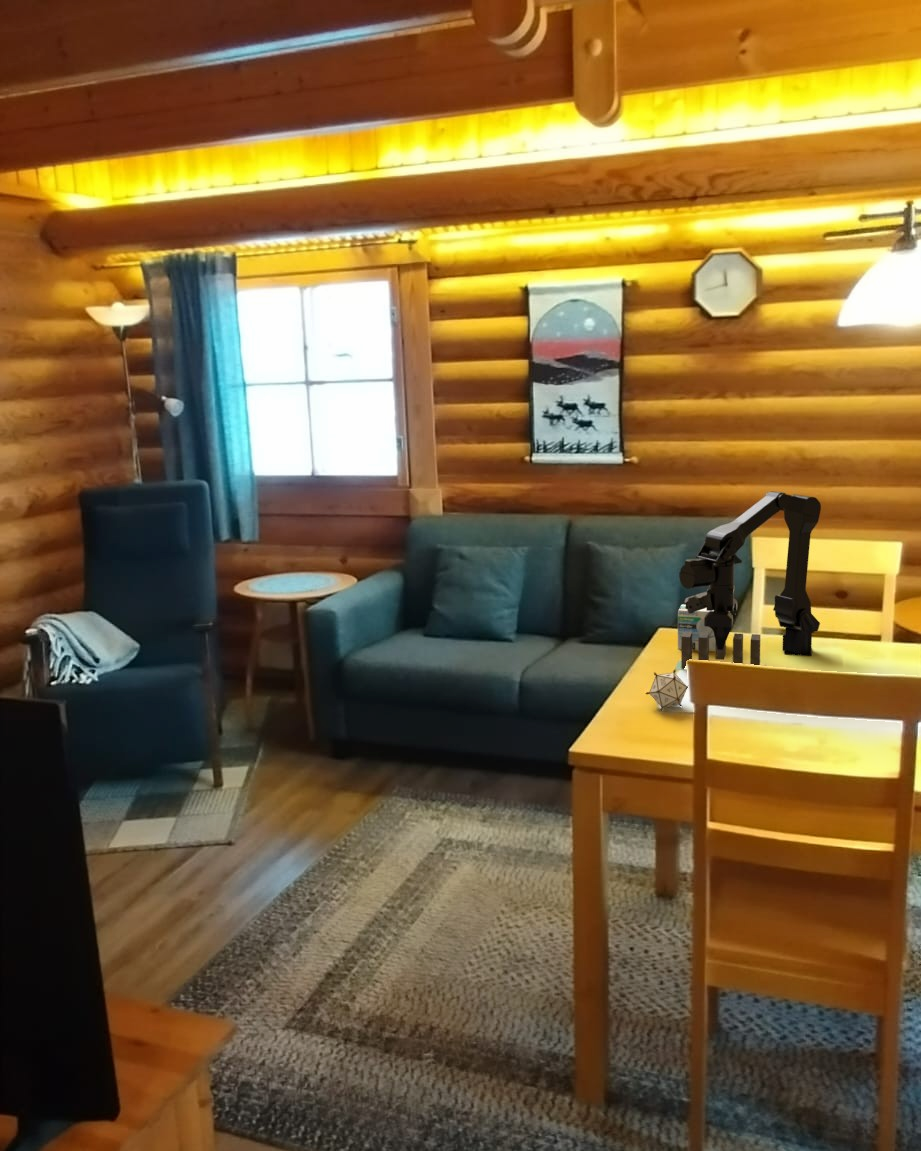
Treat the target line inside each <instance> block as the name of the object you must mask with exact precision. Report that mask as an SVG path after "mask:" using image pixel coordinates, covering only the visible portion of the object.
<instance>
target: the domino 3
mask: <svg viewBox="0 0 921 1151" xmlns="http://www.w3.org/2000/svg"><path fill="white" fill-rule="evenodd" d="M726 648H727V641H726V642H725V644H724V647H723V649H722V650H718V649H717V644H716V643H715V651H714V652H715V659H714V660H717V661H719V660H720V661H725V657H726V654H727V652H726V651H727V649H726Z"/></svg>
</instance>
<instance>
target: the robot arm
mask: <svg viewBox="0 0 921 1151" xmlns="http://www.w3.org/2000/svg"><path fill="white" fill-rule="evenodd" d="M821 510H822V505H821V501H820V500H819V499H818V497H817V498H816V497H815V496H811V495H810V496H808V495H802V494H787V493H786V492H782V491H781V492H780V491H773V490H771V491H769V492H767V493H766V494H765V495H764V496H763V498H761V499H760V500H759V501H757V502H756V503H754V505H752V506H751V507H750V508H748V509H747V510H746V511H744V512H743V513H742V514H741V515H740V516H738V517H737V518H736V519H734V520H733V521H731V522H729V523H725V524H722V525H718V526H717V527H715V528H713V529H711V530H710V531H708V532H707V533H706V535H705V540H704V541H703V543H702V545H701V546H700V548H699V551H698V552H697V554H696V555H695V558H692V559H691V558H688V559H685V560H684V565H682V567H681V568H680V571H679V574H678V578H679V582H680V584H681V585H682V587H683V588H684V589H687V590H691V589H696V588H703V587H708V588H707V589H706V591H704V592H700V593H697V594H695V595H690V596H689V597H686V598H685V599H684V604H685V605H686V607H685V608H686V609H687V610H688V613H689V614H691V613H694V612H695V611H698V610H701V609H705V608H707V611H709V612H708V613H707V614H706V615H705V618H704V626H706V627H710V628H711V629H712V630H713V632H714V636H715V640H716V644H717V649H718V650H722V649H723V647H724V644H725V642H726V643H727V639H728V638H729V635H730V633H731V630H732V627H733V625H734V620H735V617H736V614H737V613H736V612H737V610H738V600H737V599H735V587H736V586H735V565H736V564H741V563H743V561H742V559H740V557H738V556H737V552H739V550H741V549H742V547H743V546H744V545H745V542H746V539H747V538H748V537H749V535H751V534H752V533H754V531H756V530H757V529H759V528H760V527H761V526H762V525H763V524H765V523H766V522H767V521H768V520H770V519H771V518H772V517H775V515H776V514H777V513H779V512H780V511H783V513H784V514H783V515H784V517H783V518H784V522H785V524H786V526H787V529H788V531H789V535H788V545H787V546H788V547H787V556H786V557H787V558H786V569H785V581H784V582H785V583H784V588H783V590H782V591H781V592H780V594H775V595H774V607H773V609H772V610H773V611H774V615H775V618H776V619H777V621H778V624H779V627H781V628H785V632H783V633H782V652H784V653H783V654H784V656H785V655H786V656H802V657H803V656H804V657H805V656H806V657H812V656H813V655H812V654H813V648H812V639H813V638H812V637H813V636H812V635H813V634H814V633H815V632H818V631H819V629H820V625H821V622H820V621H819V619H817V618H816V617H815V616H814V614H812V603H811V600H810V597H809V595H808V593H807V589H806V588H807V578H808V569H809V568H808V566H809V558H810V557H809V556H810V544H811V535H812V531H813V530H814V529H815V527H816V526H817V525H818V523H819V519H820V514H821ZM712 610H714V611H712Z"/></svg>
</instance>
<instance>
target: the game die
mask: <svg viewBox="0 0 921 1151" xmlns="http://www.w3.org/2000/svg"><path fill="white" fill-rule="evenodd" d="M676 672H677V671H676V670H675V669H673V671H672V672H669V673H668V672H667V673H662V674H657V672H653V675H654V676H655V677H654V679H653V682H652V685H651V687H650V690H649V692H648V691H647V692H645V695H650V696H651V697H652V698H653V700H654V701H655V702H656V703H657V704H658V705H659V706H660V712H663V710H664V708H670V707H676V706H679V707H680V706H682V707H683V704H682V702H683V700H684V697H685V694H686V692H687V690H688V689H689V688H688V686H689V685H686V683H685V682H684V681H683V680H682V679H681V677H679V676H678V675H677V673H676Z"/></svg>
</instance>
